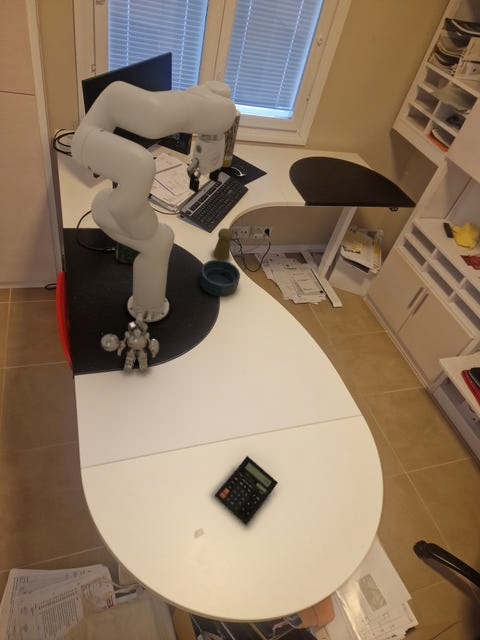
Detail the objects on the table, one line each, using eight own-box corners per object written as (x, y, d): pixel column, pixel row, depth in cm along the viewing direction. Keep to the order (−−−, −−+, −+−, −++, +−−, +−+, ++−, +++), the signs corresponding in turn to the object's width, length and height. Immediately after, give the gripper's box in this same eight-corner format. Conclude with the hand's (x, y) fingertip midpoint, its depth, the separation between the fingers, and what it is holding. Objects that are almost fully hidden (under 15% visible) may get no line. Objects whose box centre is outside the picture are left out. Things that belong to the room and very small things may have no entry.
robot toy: (100, 372, 109) (97, 336, 98) (103, 353, 113) (101, 317, 102) (157, 373, 112) (160, 339, 101) (158, 355, 116) (161, 320, 105)
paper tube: (214, 161, 200) (223, 108, 182) (227, 161, 203) (237, 108, 185) (219, 168, 196) (229, 114, 178) (232, 168, 199) (243, 115, 181)
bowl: (236, 300, 138) (239, 288, 134) (197, 294, 136) (199, 282, 132) (237, 275, 147) (240, 263, 143) (201, 268, 145) (203, 256, 141)
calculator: (214, 495, 93) (216, 490, 91) (245, 459, 101) (248, 454, 99) (246, 525, 91) (249, 520, 88) (275, 486, 98) (279, 481, 96)
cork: (220, 248, 155) (225, 223, 147) (232, 256, 153) (238, 232, 145) (209, 254, 151) (214, 229, 144) (221, 262, 149) (227, 238, 142)
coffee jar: (146, 252, 145) (148, 206, 132) (143, 266, 140) (145, 221, 126) (118, 248, 143) (117, 202, 130) (114, 263, 138) (112, 216, 125)
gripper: (202, 144, 109) (195, 200, 122) (239, 129, 120) (229, 181, 132) (180, 133, 111) (175, 189, 124) (219, 118, 122) (211, 171, 134)
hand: (203, 185), depth 128 cm, fingers open, 9 cm apart
